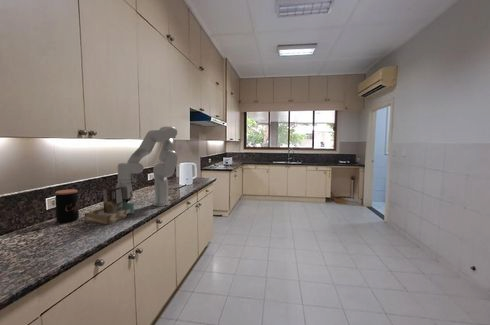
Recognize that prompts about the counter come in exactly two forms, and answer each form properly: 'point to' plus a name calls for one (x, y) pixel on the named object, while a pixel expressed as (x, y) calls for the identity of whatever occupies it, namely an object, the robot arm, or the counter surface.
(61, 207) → the coffee jar
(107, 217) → the wooden drawer box
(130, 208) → the tray
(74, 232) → the counter surface
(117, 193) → the coffee box
